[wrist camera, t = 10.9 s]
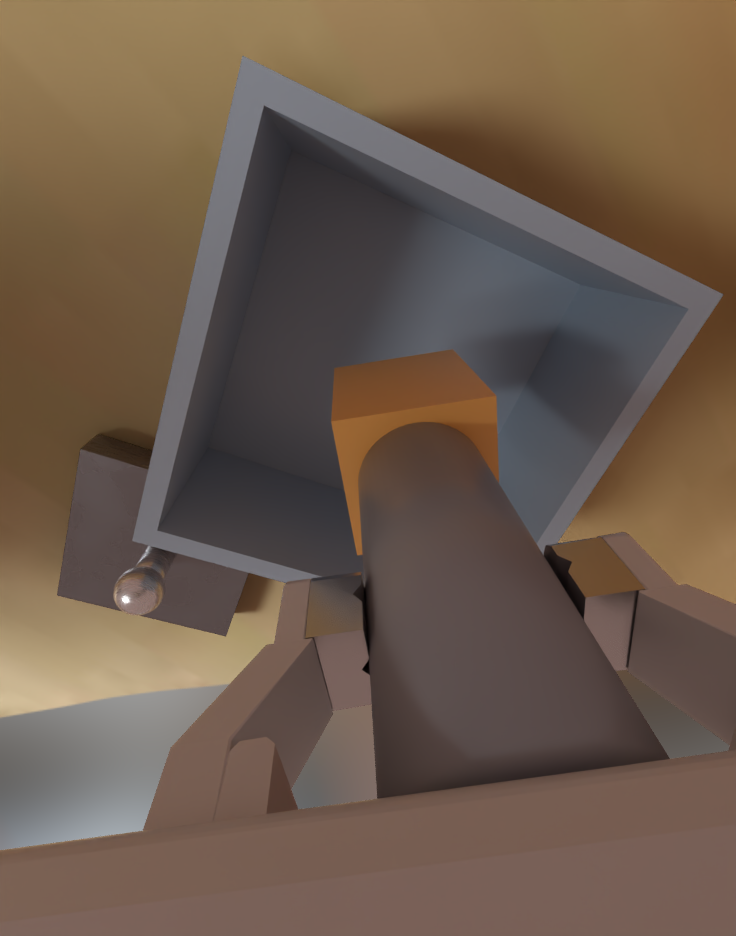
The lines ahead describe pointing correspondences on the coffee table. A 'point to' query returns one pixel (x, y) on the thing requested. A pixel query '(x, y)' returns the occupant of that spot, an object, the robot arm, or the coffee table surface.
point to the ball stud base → (135, 549)
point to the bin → (387, 331)
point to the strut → (464, 596)
